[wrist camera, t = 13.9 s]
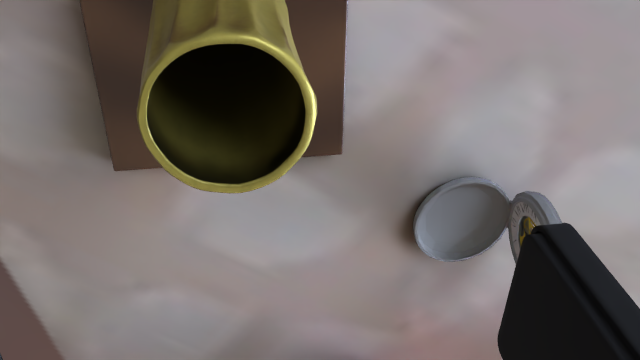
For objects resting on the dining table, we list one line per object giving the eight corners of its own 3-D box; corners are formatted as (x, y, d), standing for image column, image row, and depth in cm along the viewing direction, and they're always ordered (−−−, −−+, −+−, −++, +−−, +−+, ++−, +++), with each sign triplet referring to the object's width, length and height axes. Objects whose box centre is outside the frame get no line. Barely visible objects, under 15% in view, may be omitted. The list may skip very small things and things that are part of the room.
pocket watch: (391, 215, 40) (441, 326, 32) (498, 136, 38) (580, 234, 30) (454, 279, 45) (513, 392, 36) (553, 211, 43) (639, 314, 34)
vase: (224, 69, 32) (239, 237, 20) (124, -11, 29) (73, 131, 17) (305, -18, 30) (373, 109, 18) (207, -113, 27) (214, -33, 15)
